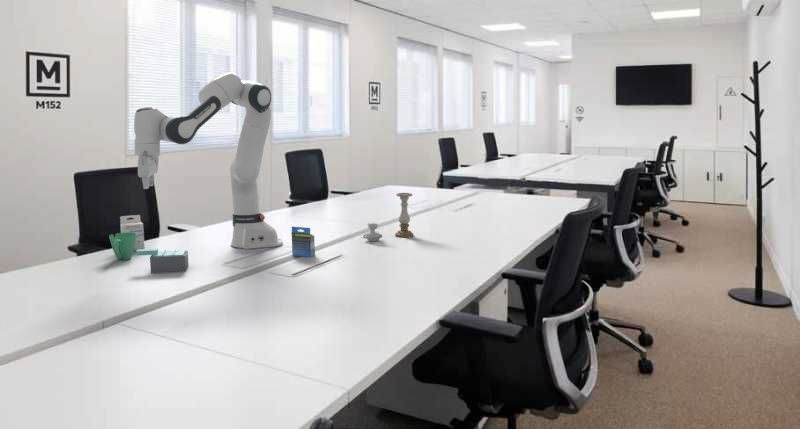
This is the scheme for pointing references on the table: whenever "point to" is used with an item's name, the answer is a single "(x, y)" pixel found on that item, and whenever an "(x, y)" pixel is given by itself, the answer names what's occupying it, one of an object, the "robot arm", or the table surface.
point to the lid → (161, 253)
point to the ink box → (133, 229)
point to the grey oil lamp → (372, 233)
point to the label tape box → (302, 242)
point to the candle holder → (404, 216)
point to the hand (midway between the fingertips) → (148, 187)
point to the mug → (123, 245)
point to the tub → (169, 264)
